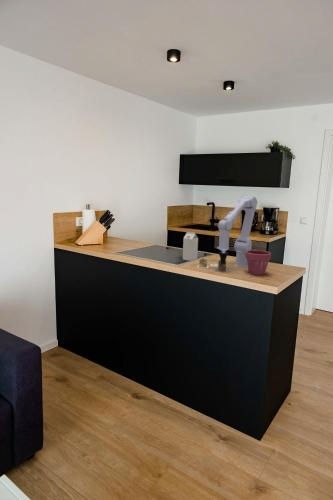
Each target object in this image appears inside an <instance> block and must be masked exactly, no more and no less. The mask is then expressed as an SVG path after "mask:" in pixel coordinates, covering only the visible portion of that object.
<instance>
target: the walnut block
mask: <svg viewBox="0 0 333 500" xmlns="http://www.w3.org/2000/svg"><path fill="white" fill-rule="evenodd" d="M226 268H227V260H226V261H225V264H221V260H220V259H219V260H218V270H226Z"/></svg>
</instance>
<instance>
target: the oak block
mask: <svg viewBox="0 0 333 500" xmlns="http://www.w3.org/2000/svg"><path fill="white" fill-rule="evenodd" d="M198 260H199V263H198V265H199V267H198V268H200V267H207V265H208V257H199V259H198Z"/></svg>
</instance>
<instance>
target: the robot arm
mask: <svg viewBox="0 0 333 500" xmlns="http://www.w3.org/2000/svg"><path fill="white" fill-rule="evenodd" d="M257 205H258V199H257V197H256V196H247V195H246V196H245V195H242V196H240V197H239V198H238V202H237V204H236V206H235V207H234V209H233V210H232V211H229V212H228V213H227V214H226V216H224V218H223V219H221V220H220V221H219V222H218V224H217V228H218V232H219V238H218V239H219V240H218V246H217V247H216V249H218V255H219V260H221V264H225V261H226V262H227V257H228V255H229V249H230V248H229V246H230V244H229V243H230V231H231V230H232V228H233V225H234V223H235V221H236V220H237V219H238V215H239V214H240V212H242V211H243V210H244V212H245V215H244V218H243V223H242V227H241V231H240V236H239V237H237V238H236V240H235V243H234V245H233V247H234V248H233V249H234V250H235V252H236V257H235V258H236V259H235V263H234V265H235V267H241V268H243V267H244V268H248V264H247V258H246V257H245V255H246V251H248V250H252V245H253V244H252V242H253V241H252V240H251V239H250V233H251V230H252V226H253V221H254V216H255V212H256V210H257V207H258V206H257Z"/></svg>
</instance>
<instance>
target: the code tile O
mask: <svg viewBox="0 0 333 500" xmlns="http://www.w3.org/2000/svg"><path fill="white" fill-rule="evenodd" d="M209 265H210V264H209ZM209 265H208V264H207V267H199V264H197V266H196V268H202V269H203V268H204V269H209V267H210V266H209Z"/></svg>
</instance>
